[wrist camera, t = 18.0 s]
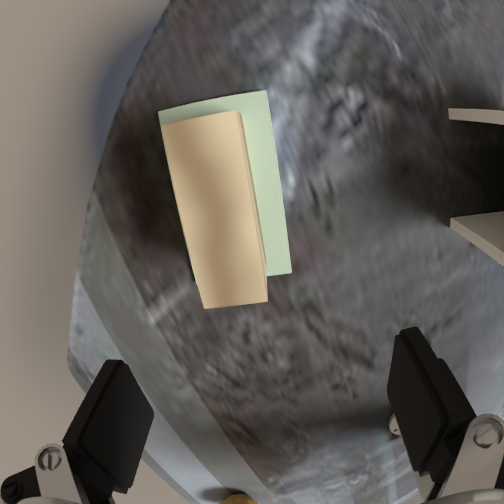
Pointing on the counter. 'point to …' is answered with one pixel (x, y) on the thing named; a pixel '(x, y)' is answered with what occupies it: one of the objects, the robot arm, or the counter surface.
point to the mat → (261, 163)
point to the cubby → (489, 224)
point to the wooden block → (218, 207)
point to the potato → (238, 499)
